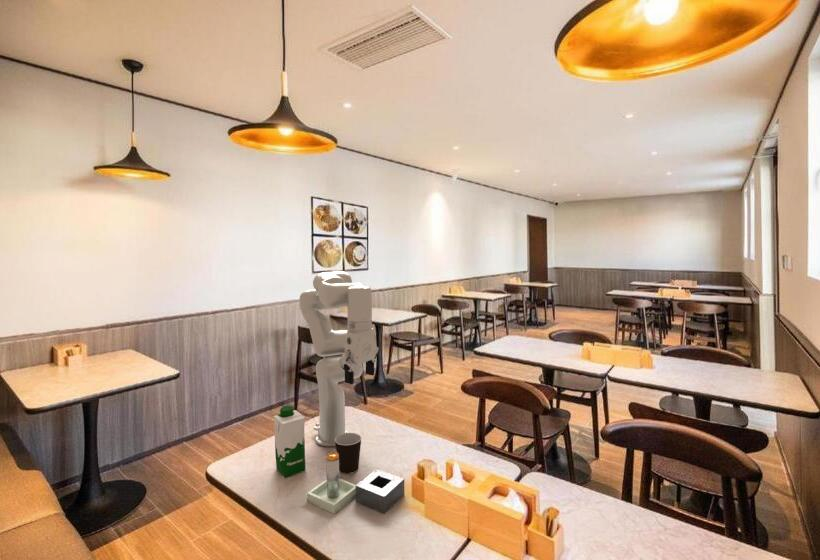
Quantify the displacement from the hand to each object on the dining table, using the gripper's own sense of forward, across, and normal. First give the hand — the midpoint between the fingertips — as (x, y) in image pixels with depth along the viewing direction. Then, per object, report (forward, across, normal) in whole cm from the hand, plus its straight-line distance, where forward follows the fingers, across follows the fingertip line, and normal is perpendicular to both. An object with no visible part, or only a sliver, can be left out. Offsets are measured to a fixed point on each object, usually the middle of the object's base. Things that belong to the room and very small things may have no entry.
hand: (359, 378), depth 125 cm
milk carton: (+32, -12, +20) cm, 39 cm away
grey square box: (+31, -7, -14) cm, 34 cm away
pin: (+30, -14, -3) cm, 33 cm away
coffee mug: (+32, +1, +5) cm, 32 cm away
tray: (+31, -14, -2) cm, 34 cm away
